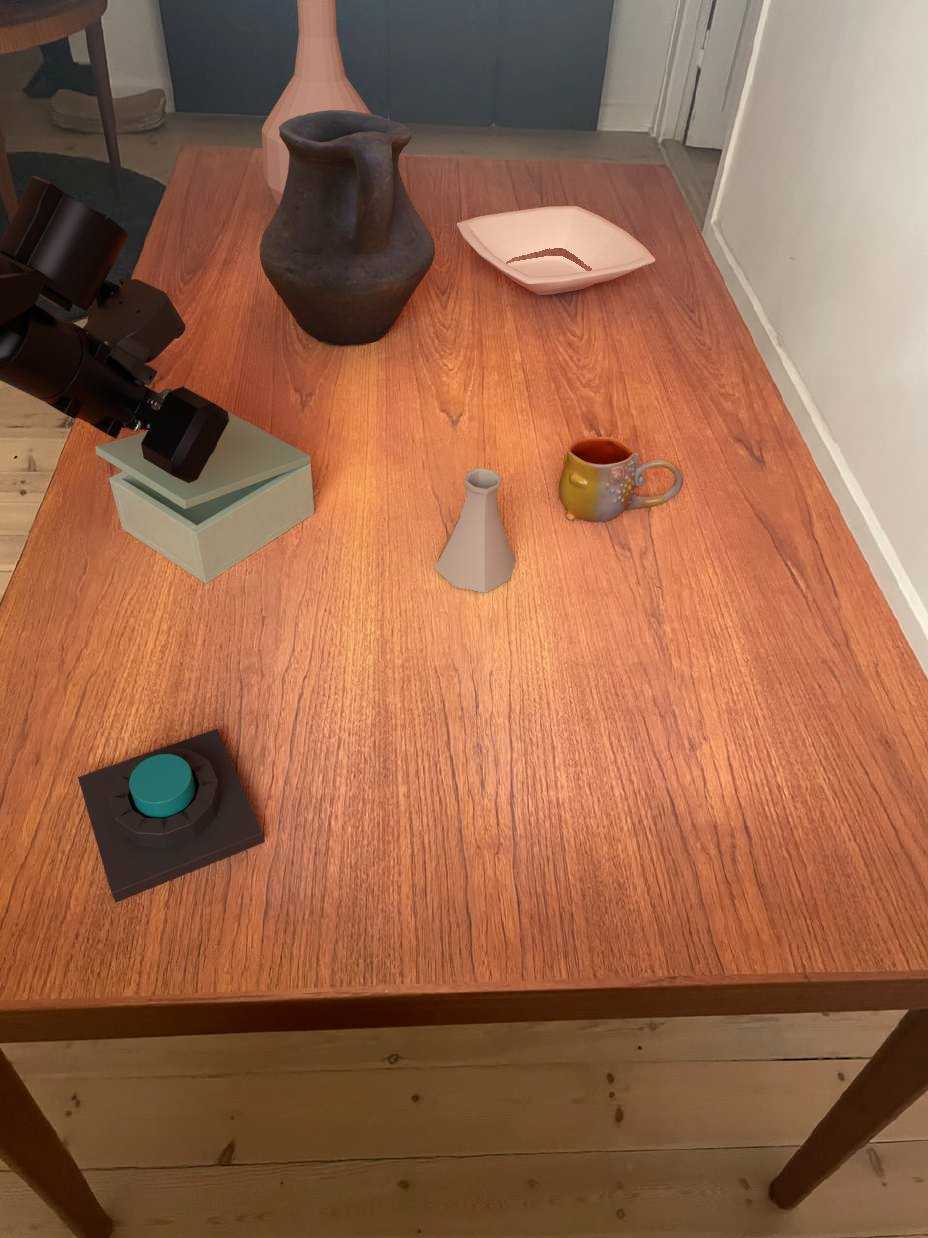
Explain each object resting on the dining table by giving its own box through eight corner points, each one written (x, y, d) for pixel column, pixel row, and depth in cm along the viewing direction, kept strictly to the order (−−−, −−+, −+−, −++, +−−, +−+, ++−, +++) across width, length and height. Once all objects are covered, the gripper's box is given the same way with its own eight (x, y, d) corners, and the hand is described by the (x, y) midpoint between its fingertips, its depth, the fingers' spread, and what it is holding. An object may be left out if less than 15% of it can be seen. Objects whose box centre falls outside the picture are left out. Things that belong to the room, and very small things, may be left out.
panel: (115, 903, 58) (105, 879, 56) (81, 786, 65) (71, 761, 62) (264, 842, 62) (260, 818, 60) (219, 738, 68) (213, 712, 66)
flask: (528, 561, 85) (540, 473, 78) (488, 604, 80) (497, 515, 73) (463, 532, 87) (469, 444, 80) (420, 572, 83) (423, 483, 76)
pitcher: (394, 281, 125) (395, 77, 108) (462, 356, 112) (475, 136, 94) (248, 303, 118) (223, 89, 101) (301, 385, 105) (283, 154, 87)
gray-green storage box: (205, 584, 80) (196, 533, 76) (122, 529, 85) (108, 478, 81) (314, 513, 88) (311, 463, 84) (232, 466, 93) (225, 417, 89)
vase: (253, 240, 132) (228, -6, 111) (286, 196, 145) (269, -31, 124) (371, 253, 131) (368, 8, 110) (394, 209, 144) (395, -19, 123)
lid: (184, 509, 74) (184, 449, 71) (95, 454, 78) (91, 395, 75) (310, 463, 84) (315, 409, 81) (224, 416, 89) (226, 363, 86)
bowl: (440, 260, 131) (442, 220, 127) (576, 239, 139) (581, 200, 135) (516, 330, 117) (521, 287, 113) (662, 301, 126) (671, 260, 122)
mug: (555, 522, 89) (564, 466, 85) (557, 481, 94) (566, 426, 89) (677, 536, 89) (693, 480, 84) (673, 494, 94) (687, 439, 89)
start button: (142, 827, 60) (137, 812, 58) (127, 781, 62) (122, 766, 61) (202, 804, 61) (198, 789, 60) (185, 760, 64) (181, 745, 62)
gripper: (193, 302, 60) (315, 394, 75) (26, 222, 68) (166, 319, 82) (114, 449, 61) (251, 513, 75) (-43, 353, 68) (108, 428, 83)
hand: (193, 437), depth 79 cm, fingers closed on lid, 5 cm apart
